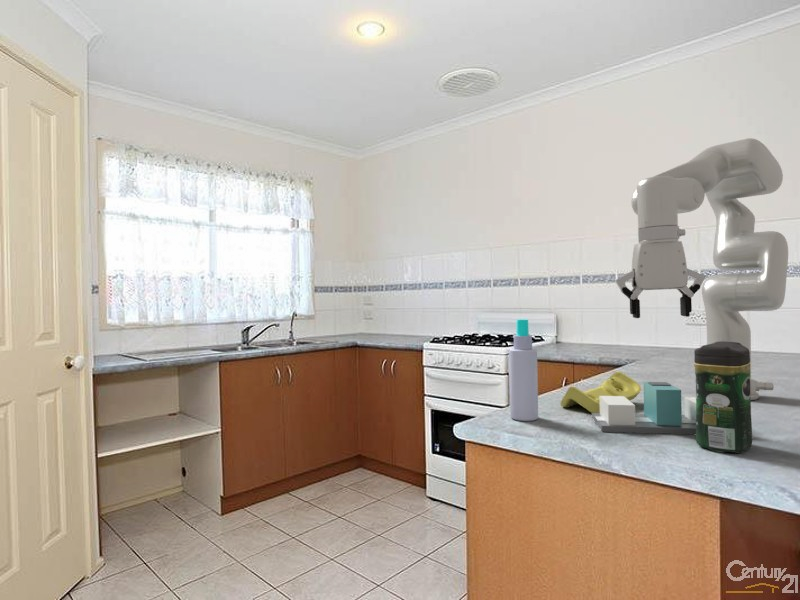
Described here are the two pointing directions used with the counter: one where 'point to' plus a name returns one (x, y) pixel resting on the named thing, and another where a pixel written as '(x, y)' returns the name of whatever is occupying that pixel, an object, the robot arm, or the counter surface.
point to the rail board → (639, 417)
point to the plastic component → (602, 392)
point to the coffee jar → (723, 397)
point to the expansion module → (662, 403)
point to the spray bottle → (523, 375)
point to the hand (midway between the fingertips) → (660, 316)
